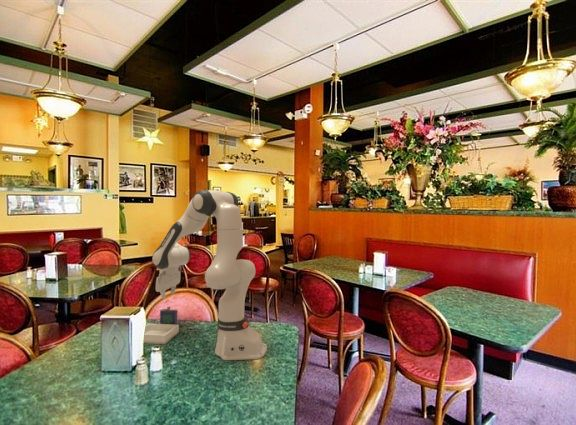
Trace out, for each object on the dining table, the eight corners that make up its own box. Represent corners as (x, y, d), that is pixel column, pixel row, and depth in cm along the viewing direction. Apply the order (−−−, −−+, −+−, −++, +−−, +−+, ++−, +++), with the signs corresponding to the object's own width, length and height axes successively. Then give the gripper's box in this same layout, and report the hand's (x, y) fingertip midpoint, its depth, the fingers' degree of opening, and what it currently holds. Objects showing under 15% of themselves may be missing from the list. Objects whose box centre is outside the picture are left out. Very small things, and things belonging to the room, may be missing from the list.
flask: (178, 326, 167) (178, 305, 167) (176, 328, 164) (176, 307, 164) (161, 325, 167) (161, 305, 167) (158, 327, 164) (158, 307, 164)
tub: (178, 332, 158) (178, 324, 158) (165, 344, 144) (165, 335, 144) (148, 331, 160) (148, 323, 160) (132, 342, 146) (132, 334, 146)
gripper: (164, 274, 155) (164, 302, 155) (182, 266, 175) (182, 291, 176) (152, 273, 156) (152, 301, 156) (171, 266, 176) (171, 291, 176)
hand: (168, 296), depth 166 cm, fingers open, 8 cm apart
